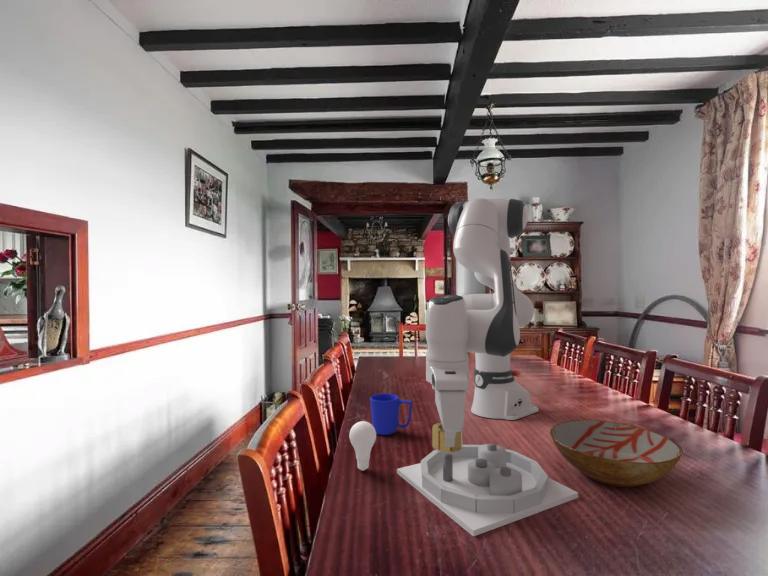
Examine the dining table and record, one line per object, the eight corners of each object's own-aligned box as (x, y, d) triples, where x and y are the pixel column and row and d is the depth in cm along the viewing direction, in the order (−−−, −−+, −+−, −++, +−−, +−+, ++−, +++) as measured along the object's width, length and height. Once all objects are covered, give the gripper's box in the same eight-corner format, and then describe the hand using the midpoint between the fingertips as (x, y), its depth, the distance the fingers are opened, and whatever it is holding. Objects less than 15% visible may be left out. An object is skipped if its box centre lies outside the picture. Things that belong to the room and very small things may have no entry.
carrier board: (487, 450, 102) (486, 426, 102) (578, 497, 79) (577, 467, 79) (397, 473, 90) (396, 446, 90) (473, 536, 67) (472, 500, 67)
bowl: (690, 520, 71) (689, 474, 71) (539, 484, 85) (539, 446, 85) (677, 466, 93) (677, 431, 93) (559, 444, 106) (559, 413, 106)
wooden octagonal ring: (450, 439, 89) (450, 420, 89) (467, 448, 83) (467, 429, 83) (427, 444, 86) (427, 425, 86) (444, 454, 81) (443, 434, 81)
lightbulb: (349, 465, 95) (349, 418, 95) (375, 463, 95) (375, 417, 95) (349, 477, 89) (349, 427, 89) (377, 475, 89) (376, 425, 89)
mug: (410, 439, 110) (410, 402, 110) (367, 436, 113) (367, 400, 113) (414, 428, 119) (413, 394, 119) (374, 426, 121) (373, 392, 121)
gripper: (428, 363, 95) (429, 422, 95) (435, 383, 75) (436, 458, 75) (455, 363, 95) (456, 422, 95) (470, 383, 75) (471, 458, 75)
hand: (447, 438), depth 85 cm, fingers closed on wooden octagonal ring, 6 cm apart
